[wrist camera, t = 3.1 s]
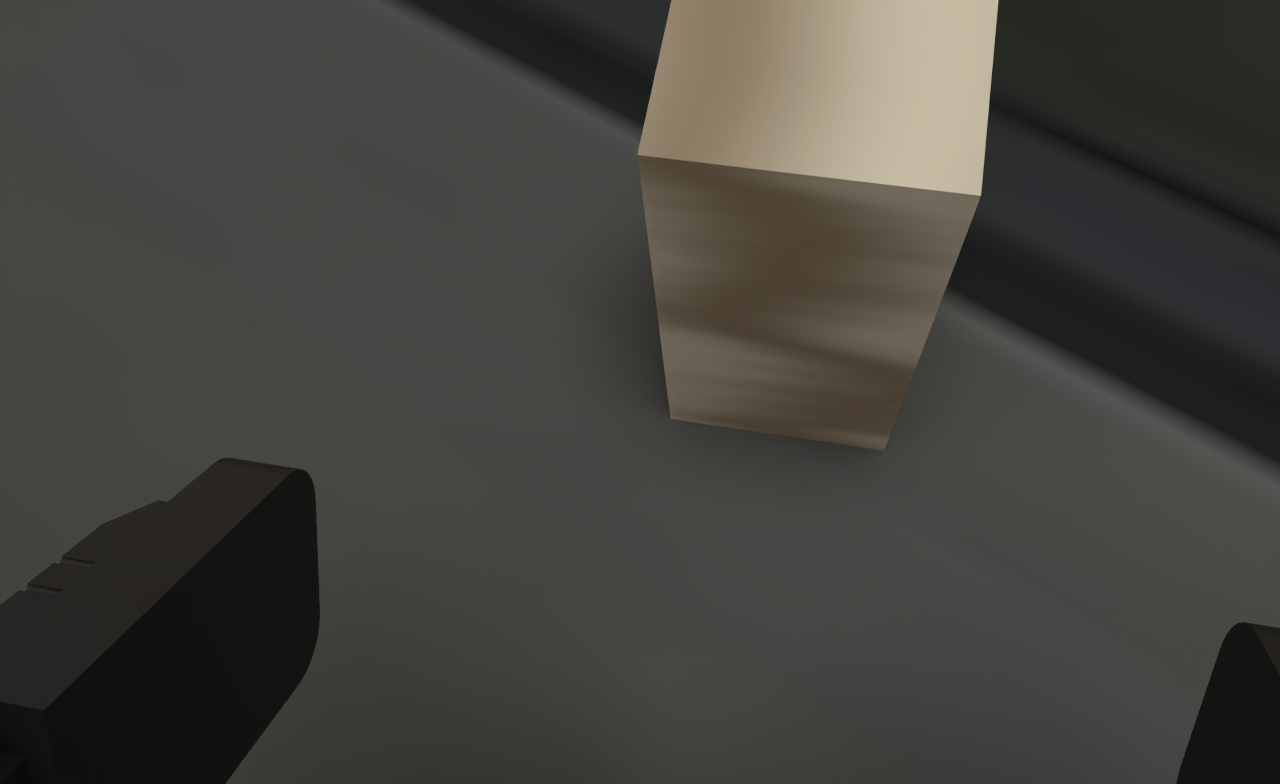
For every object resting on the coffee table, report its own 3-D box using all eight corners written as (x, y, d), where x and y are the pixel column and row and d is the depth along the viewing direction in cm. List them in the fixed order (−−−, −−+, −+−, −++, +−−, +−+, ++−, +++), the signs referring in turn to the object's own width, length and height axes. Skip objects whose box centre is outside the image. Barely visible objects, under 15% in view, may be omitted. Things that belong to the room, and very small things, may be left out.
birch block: (905, 262, 26) (1004, -72, 17) (884, 451, 24) (980, 195, 15) (705, 236, 27) (693, -100, 17) (670, 419, 25) (637, 155, 16)
